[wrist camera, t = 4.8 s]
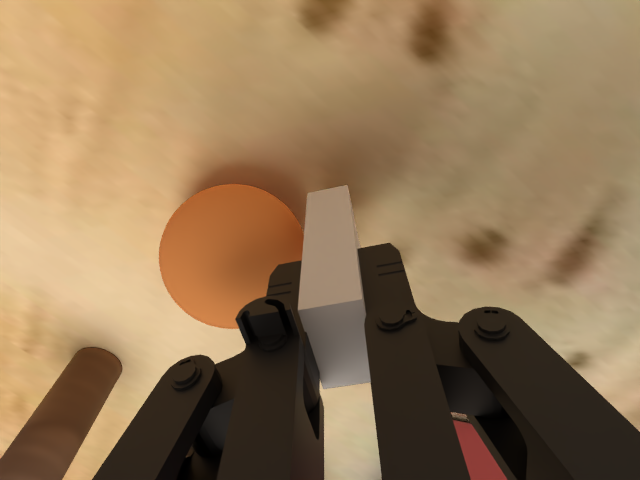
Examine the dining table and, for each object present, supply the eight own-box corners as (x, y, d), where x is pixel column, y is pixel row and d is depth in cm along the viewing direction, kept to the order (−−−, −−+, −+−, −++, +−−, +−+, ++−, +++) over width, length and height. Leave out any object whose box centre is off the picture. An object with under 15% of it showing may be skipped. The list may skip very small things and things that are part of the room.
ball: (236, 228, 11) (98, 225, 14) (282, 372, 14) (160, 349, 16) (313, 159, 16) (199, 165, 18) (337, 278, 18) (234, 271, 20)
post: (107, 344, 22) (-13, 530, 14) (130, 377, 23) (31, 565, 16) (64, 352, 22) (-76, 538, 15) (89, 384, 24) (-28, 571, 16)
